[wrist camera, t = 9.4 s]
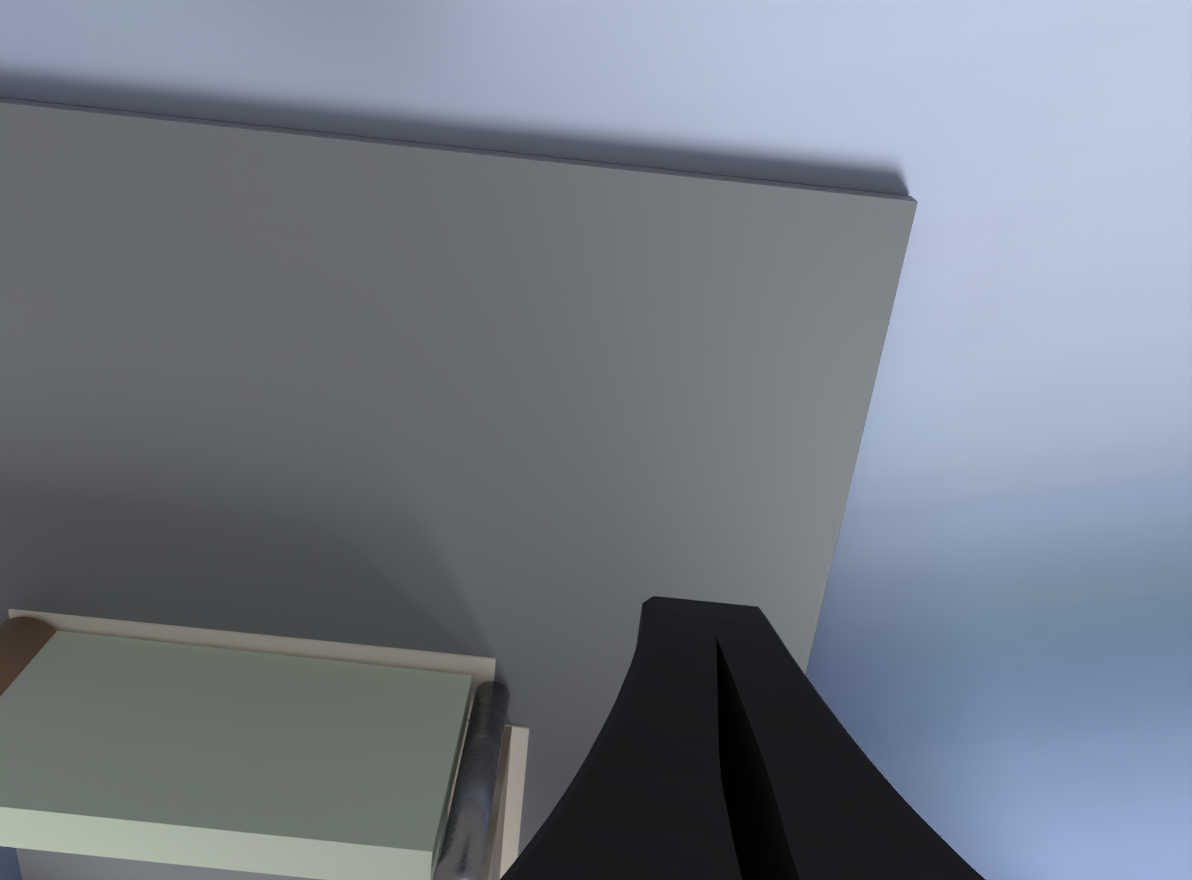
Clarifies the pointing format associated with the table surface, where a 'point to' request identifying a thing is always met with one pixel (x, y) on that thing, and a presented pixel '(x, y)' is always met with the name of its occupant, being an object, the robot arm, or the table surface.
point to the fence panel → (242, 758)
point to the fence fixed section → (497, 815)
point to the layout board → (420, 407)
